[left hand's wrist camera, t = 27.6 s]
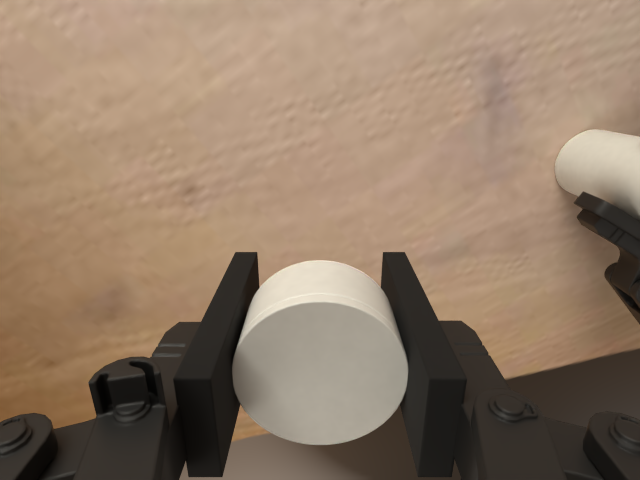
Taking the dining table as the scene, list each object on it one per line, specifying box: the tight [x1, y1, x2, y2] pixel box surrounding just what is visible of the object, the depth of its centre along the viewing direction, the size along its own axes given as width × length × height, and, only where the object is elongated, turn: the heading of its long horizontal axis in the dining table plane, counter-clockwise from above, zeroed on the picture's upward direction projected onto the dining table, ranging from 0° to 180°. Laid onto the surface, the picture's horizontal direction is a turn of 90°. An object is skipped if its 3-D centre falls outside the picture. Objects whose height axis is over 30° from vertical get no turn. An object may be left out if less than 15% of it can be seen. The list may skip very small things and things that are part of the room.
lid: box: [232, 260, 408, 445], centre depth 11 cm, size 4×4×2 cm
